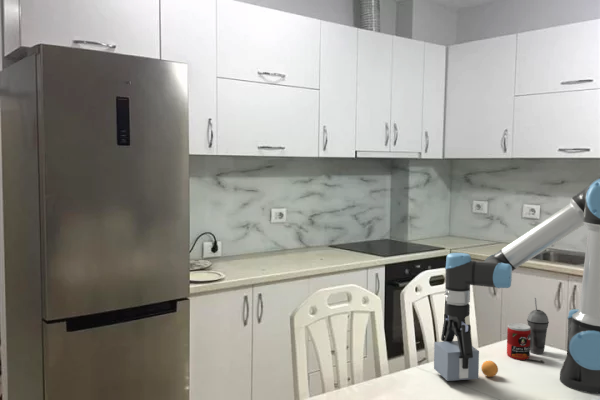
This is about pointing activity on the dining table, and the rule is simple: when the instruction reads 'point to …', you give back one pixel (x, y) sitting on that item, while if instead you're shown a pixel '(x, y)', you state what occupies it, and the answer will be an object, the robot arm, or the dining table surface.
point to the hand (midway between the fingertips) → (455, 371)
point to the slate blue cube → (453, 361)
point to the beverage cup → (537, 330)
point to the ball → (489, 368)
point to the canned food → (518, 341)
